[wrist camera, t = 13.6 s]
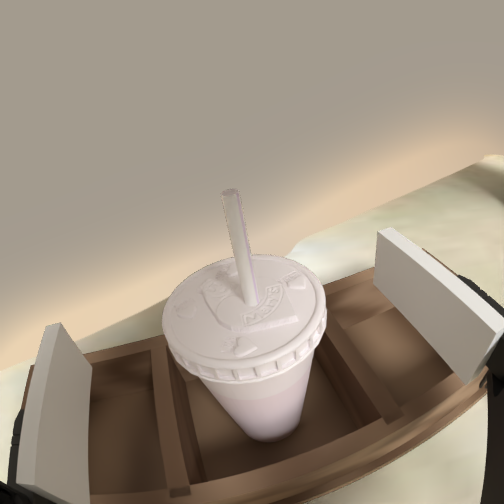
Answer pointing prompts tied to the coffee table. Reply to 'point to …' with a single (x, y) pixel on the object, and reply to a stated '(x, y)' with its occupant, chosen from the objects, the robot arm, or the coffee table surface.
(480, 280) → the coffee table surface
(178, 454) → the caddy
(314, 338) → the smoothie
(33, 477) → the robot arm
